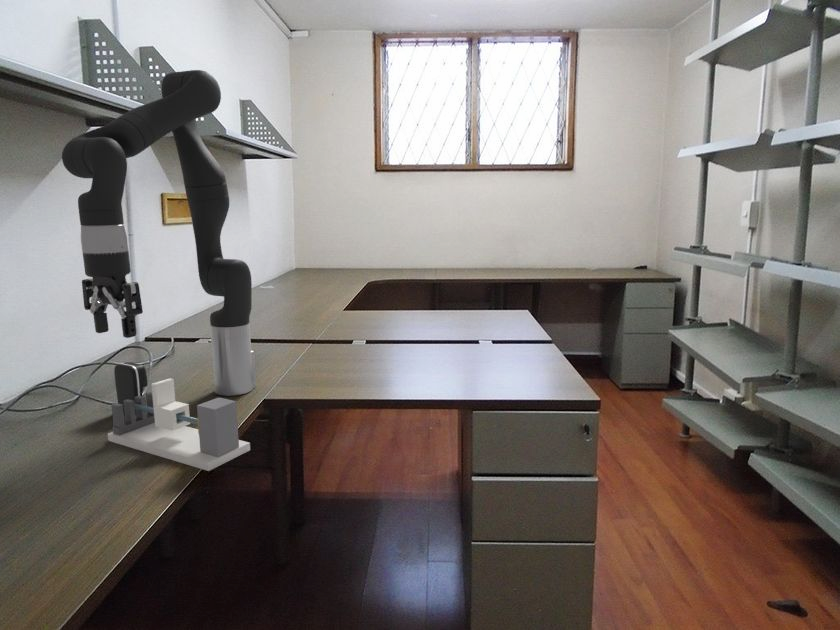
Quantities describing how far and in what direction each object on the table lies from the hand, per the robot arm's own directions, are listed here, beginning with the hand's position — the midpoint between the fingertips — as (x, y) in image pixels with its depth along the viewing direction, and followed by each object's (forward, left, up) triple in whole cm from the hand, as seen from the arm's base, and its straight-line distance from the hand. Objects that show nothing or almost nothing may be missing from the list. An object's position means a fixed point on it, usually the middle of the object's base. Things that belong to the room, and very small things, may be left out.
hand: (115, 334), depth 108 cm
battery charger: (-11, -13, -22) cm, 28 cm away
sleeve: (-3, +10, -17) cm, 20 cm away
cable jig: (-3, +11, -22) cm, 24 cm away
